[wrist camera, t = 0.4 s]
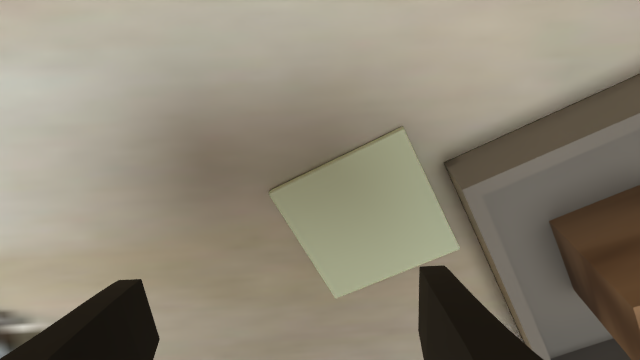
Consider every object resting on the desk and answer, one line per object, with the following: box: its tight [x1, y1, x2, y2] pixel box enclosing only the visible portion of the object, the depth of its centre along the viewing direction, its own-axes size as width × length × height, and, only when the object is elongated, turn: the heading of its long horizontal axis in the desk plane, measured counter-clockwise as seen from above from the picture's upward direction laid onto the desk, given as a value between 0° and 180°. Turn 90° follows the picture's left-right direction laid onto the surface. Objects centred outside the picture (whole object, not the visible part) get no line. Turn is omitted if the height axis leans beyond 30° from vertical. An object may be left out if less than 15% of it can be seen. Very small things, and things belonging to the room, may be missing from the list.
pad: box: [269, 126, 460, 299], centre depth 20 cm, size 7×7×1 cm
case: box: [444, 74, 640, 360], centre depth 19 cm, size 14×11×3 cm
